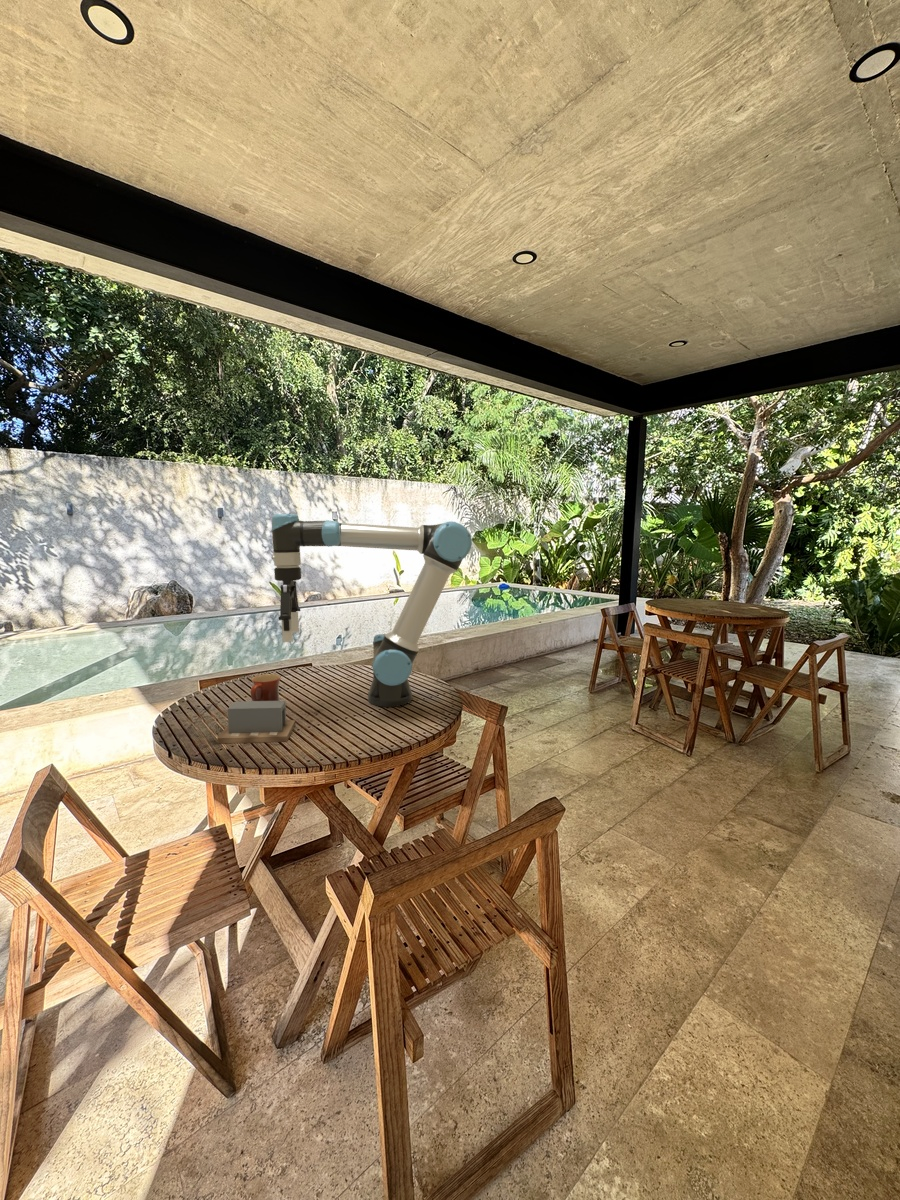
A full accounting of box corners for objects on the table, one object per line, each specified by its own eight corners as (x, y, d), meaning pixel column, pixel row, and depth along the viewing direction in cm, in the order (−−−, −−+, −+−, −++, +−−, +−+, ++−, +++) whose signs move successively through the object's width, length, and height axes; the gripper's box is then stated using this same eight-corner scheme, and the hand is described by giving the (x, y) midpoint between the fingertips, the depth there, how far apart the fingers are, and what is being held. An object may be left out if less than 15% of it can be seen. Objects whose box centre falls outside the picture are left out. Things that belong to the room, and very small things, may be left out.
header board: (295, 724, 145) (294, 707, 144) (286, 741, 133) (286, 722, 133) (231, 726, 143) (231, 708, 142) (217, 743, 131) (216, 723, 130)
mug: (262, 703, 163) (261, 673, 162) (286, 705, 161) (285, 675, 160) (240, 715, 151) (239, 683, 150) (265, 718, 150) (265, 685, 148)
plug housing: (286, 723, 142) (285, 700, 141) (281, 732, 136) (281, 707, 135) (235, 725, 140) (234, 701, 139) (228, 733, 134) (227, 708, 133)
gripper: (281, 564, 157) (284, 629, 160) (266, 569, 133) (270, 646, 135) (305, 564, 158) (308, 628, 161) (294, 569, 134) (298, 645, 137)
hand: (291, 636), depth 148 cm, fingers open, 13 cm apart
